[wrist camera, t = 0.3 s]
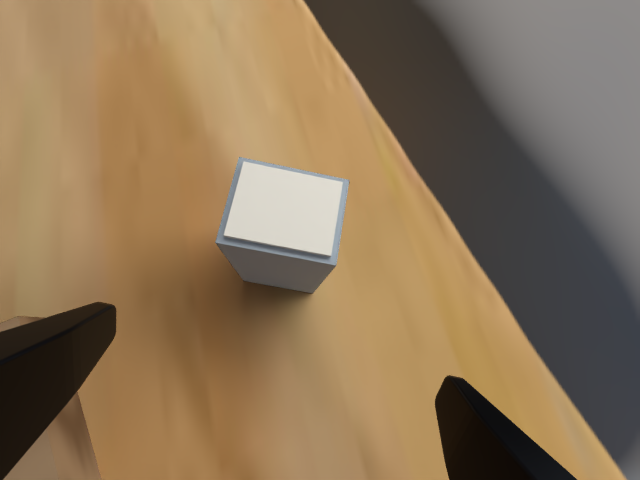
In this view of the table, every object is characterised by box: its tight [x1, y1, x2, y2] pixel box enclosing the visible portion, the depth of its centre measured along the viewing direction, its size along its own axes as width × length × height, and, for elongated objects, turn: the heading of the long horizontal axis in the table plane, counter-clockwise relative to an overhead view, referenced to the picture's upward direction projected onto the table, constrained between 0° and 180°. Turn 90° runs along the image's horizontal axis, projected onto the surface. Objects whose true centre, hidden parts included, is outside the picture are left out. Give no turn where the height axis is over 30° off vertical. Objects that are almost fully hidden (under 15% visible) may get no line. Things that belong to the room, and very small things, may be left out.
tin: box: [215, 157, 349, 293], centre depth 18 cm, size 4×5×10 cm
